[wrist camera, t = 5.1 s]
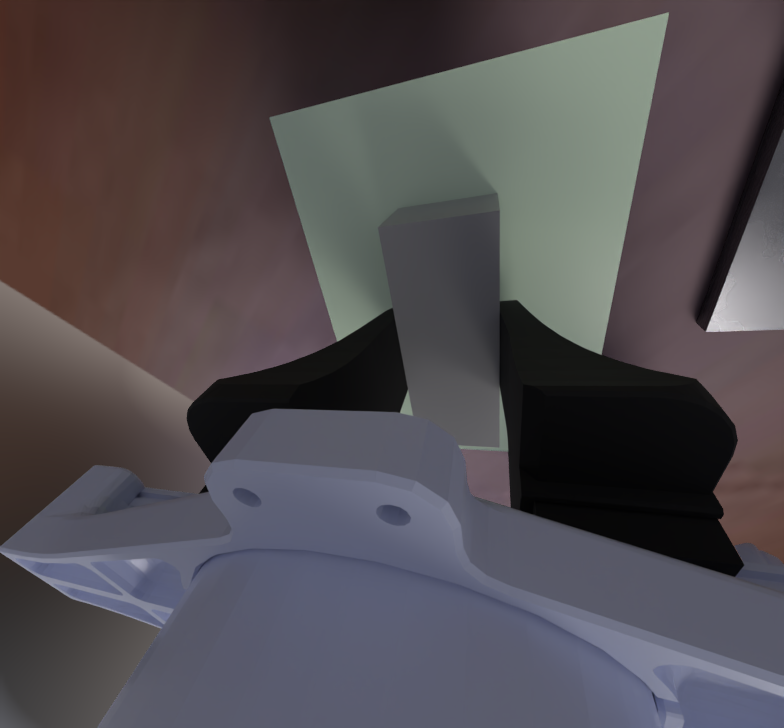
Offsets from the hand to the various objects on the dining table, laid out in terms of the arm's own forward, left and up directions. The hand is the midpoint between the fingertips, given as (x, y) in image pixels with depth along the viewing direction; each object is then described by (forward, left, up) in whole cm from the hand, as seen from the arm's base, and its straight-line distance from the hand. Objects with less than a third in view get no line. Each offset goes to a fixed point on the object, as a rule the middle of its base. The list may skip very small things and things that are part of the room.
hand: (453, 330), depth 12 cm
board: (0, 0, -2) cm, 2 cm away
